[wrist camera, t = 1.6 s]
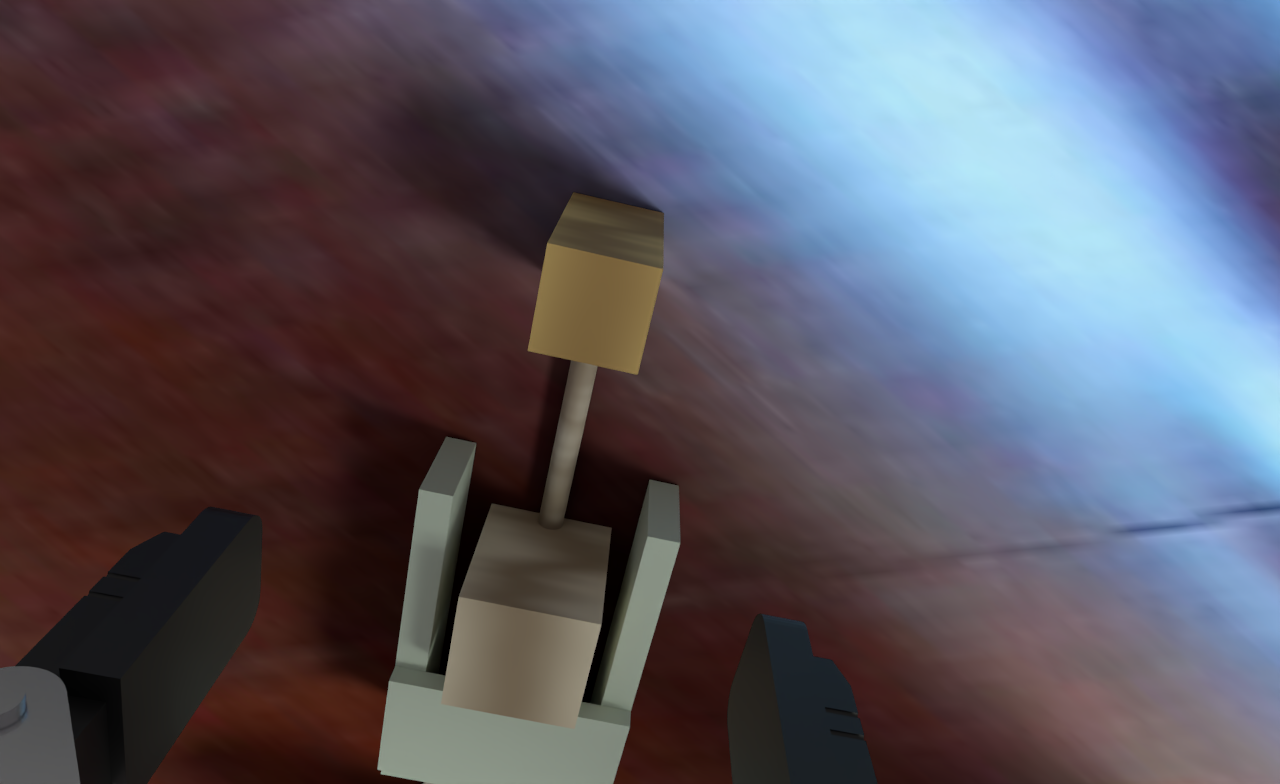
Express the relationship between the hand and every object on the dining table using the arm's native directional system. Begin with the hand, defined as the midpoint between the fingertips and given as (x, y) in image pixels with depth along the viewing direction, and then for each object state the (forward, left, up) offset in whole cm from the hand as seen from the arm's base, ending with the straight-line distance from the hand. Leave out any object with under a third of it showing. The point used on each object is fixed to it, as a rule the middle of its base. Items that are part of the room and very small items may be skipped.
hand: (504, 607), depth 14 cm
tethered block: (0, +6, -18) cm, 19 cm away
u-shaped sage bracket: (0, +15, -18) cm, 24 cm away
